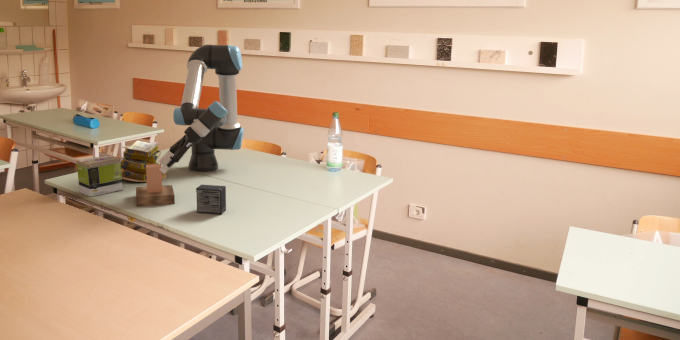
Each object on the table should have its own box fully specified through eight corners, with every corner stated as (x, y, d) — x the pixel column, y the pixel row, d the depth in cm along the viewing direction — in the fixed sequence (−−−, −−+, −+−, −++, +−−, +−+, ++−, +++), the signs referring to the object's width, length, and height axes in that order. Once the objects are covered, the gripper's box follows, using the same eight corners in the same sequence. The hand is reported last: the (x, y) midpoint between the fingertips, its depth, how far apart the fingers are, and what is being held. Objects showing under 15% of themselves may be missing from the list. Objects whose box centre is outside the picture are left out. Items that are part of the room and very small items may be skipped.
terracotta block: (161, 188, 232) (160, 163, 230) (162, 192, 228) (161, 166, 225) (147, 189, 230) (145, 164, 228) (147, 192, 226) (146, 167, 223)
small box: (226, 209, 222) (226, 185, 219) (221, 215, 215) (221, 189, 213) (201, 208, 222) (201, 183, 220) (196, 213, 216) (195, 188, 214)
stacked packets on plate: (176, 173, 272) (175, 140, 268) (147, 185, 249) (145, 150, 245) (134, 168, 278) (132, 136, 274) (101, 180, 255) (99, 145, 251)
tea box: (111, 185, 247) (109, 154, 243) (123, 190, 241) (121, 158, 237) (78, 192, 236) (75, 159, 232) (89, 197, 229) (87, 163, 226)
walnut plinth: (172, 193, 239) (172, 184, 238) (174, 203, 226) (174, 194, 225) (136, 195, 234) (135, 186, 233) (136, 206, 221) (136, 197, 220)
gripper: (187, 120, 239) (153, 154, 238) (192, 131, 216) (155, 169, 215) (200, 131, 242) (166, 165, 241) (206, 143, 219) (169, 181, 218)
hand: (161, 167), depth 228 cm, fingers open, 13 cm apart
